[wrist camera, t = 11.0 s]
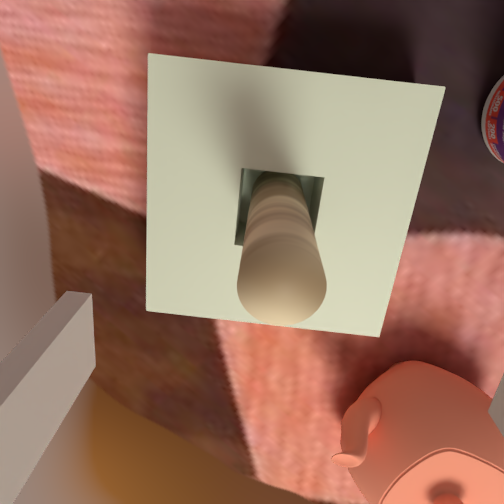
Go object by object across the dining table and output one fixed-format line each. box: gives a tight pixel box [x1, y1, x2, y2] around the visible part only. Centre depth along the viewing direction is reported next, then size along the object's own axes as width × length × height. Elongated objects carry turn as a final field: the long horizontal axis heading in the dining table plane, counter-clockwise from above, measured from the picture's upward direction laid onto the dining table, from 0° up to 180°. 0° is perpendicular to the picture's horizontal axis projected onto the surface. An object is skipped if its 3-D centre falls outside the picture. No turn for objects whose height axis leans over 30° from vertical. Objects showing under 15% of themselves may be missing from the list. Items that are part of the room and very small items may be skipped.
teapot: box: [331, 360, 504, 504], centre depth 37 cm, size 13×20×12 cm, turn 61°
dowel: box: [237, 171, 327, 326], centre depth 26 cm, size 4×4×16 cm
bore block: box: [146, 53, 446, 337], centre depth 32 cm, size 18×18×6 cm
